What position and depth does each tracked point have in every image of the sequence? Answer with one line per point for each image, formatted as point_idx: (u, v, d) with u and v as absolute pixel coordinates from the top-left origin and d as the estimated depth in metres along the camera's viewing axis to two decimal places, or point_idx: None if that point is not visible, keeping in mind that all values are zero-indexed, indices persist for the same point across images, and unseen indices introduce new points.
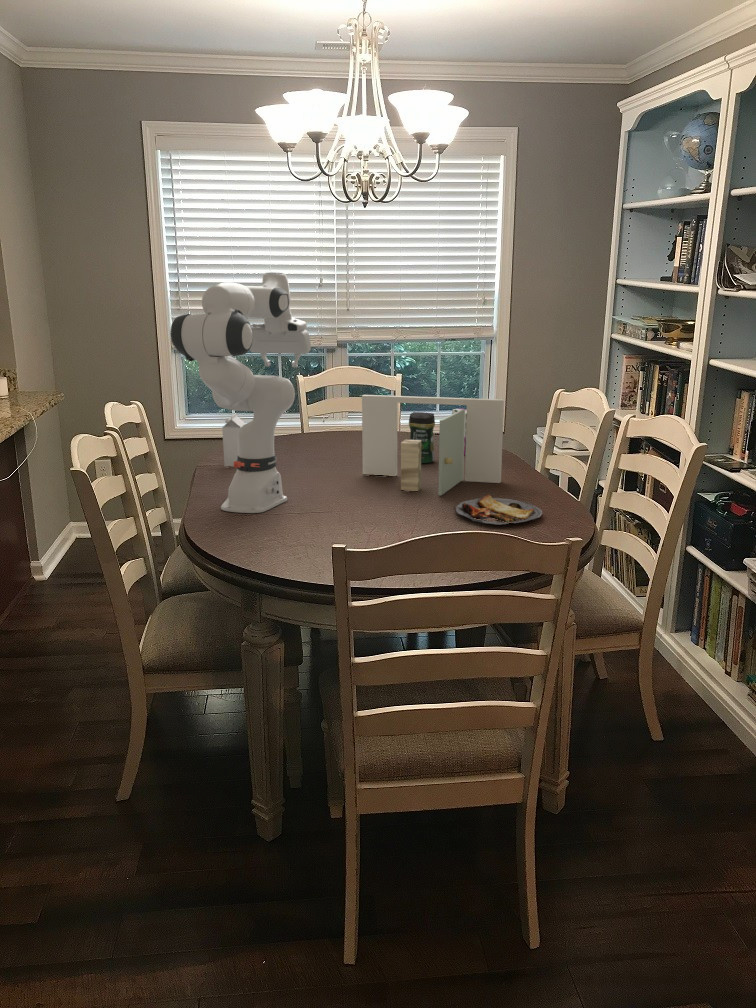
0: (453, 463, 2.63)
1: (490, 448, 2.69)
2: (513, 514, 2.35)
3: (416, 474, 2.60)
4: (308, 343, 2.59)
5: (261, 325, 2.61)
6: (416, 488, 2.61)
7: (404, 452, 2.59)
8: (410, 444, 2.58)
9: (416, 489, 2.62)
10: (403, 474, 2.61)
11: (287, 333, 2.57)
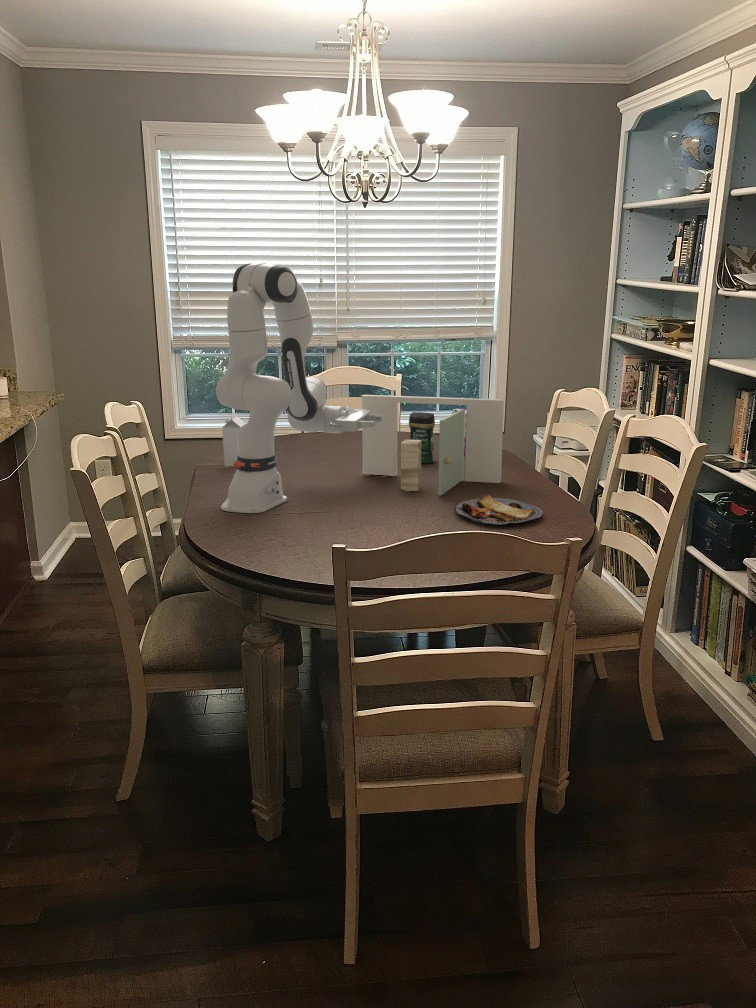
0: (453, 463, 2.63)
1: (490, 448, 2.69)
2: (513, 514, 2.35)
3: (416, 474, 2.60)
4: None
5: (333, 421, 2.59)
6: (416, 488, 2.61)
7: (404, 452, 2.59)
8: (410, 444, 2.58)
9: (416, 489, 2.62)
10: (403, 474, 2.61)
11: (347, 409, 2.67)
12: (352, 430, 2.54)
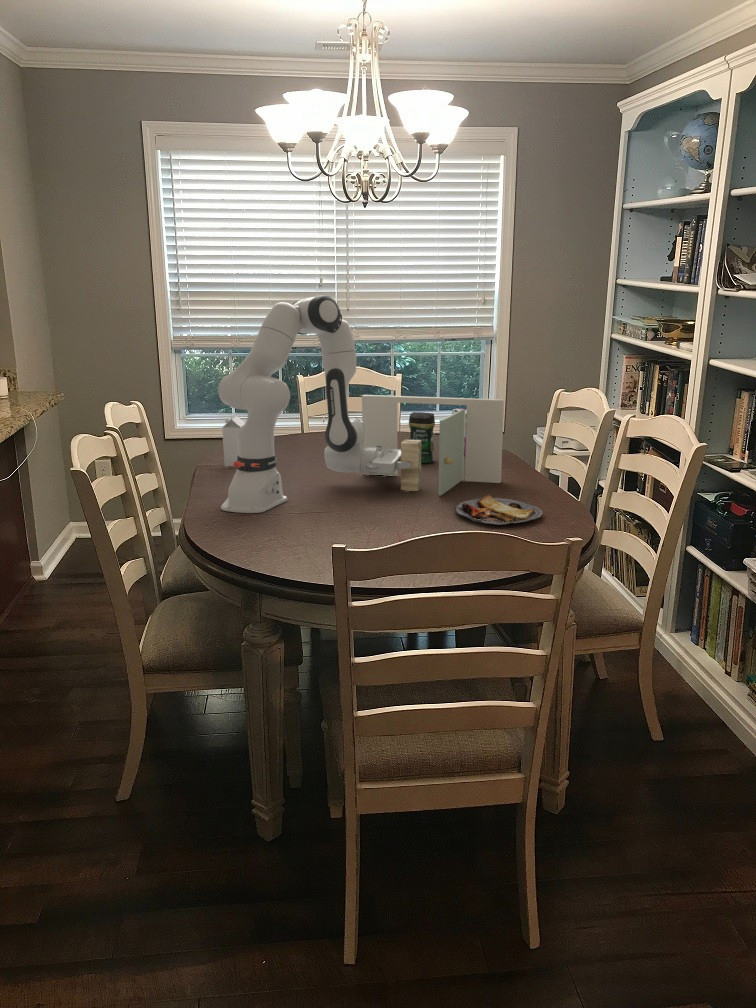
0: (453, 463, 2.63)
1: (490, 448, 2.69)
2: (513, 514, 2.35)
3: (416, 474, 2.60)
4: None
5: (369, 463, 2.60)
6: (416, 488, 2.61)
7: (404, 452, 2.59)
8: (410, 444, 2.58)
9: (416, 489, 2.62)
10: (403, 474, 2.61)
11: (382, 450, 2.68)
12: (389, 472, 2.55)
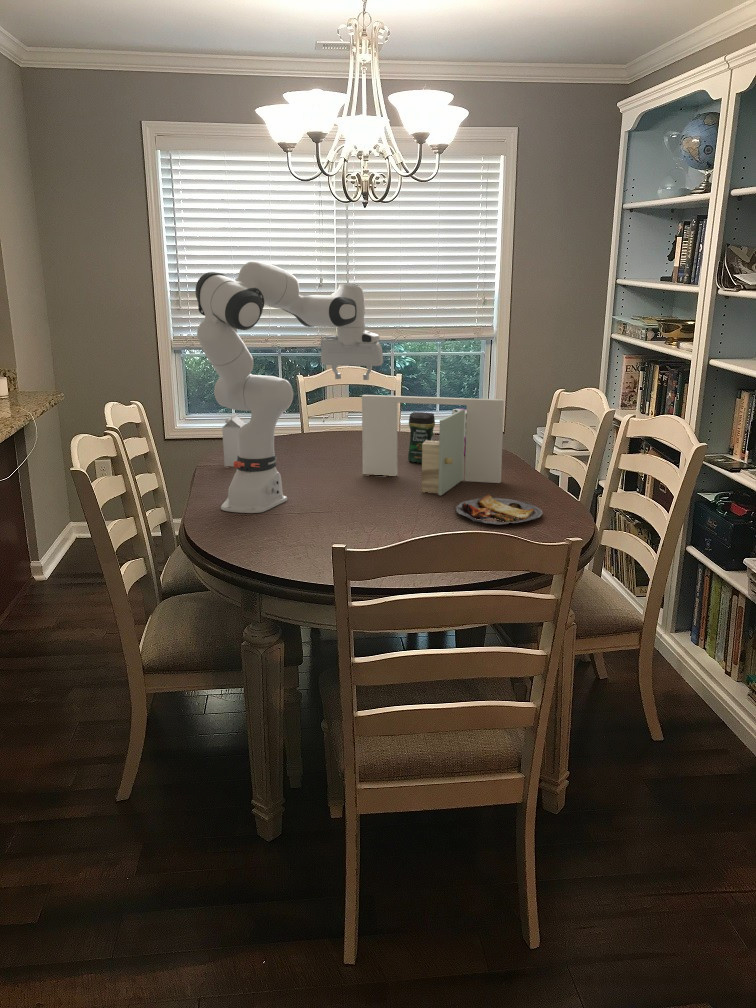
0: (453, 463, 2.63)
1: (490, 448, 2.69)
2: (513, 514, 2.35)
3: (437, 475, 2.59)
4: (381, 355, 2.57)
5: (334, 337, 2.59)
6: (437, 489, 2.60)
7: (425, 453, 2.57)
8: (431, 445, 2.56)
9: (437, 490, 2.60)
10: (424, 475, 2.60)
11: (361, 344, 2.55)
12: None
